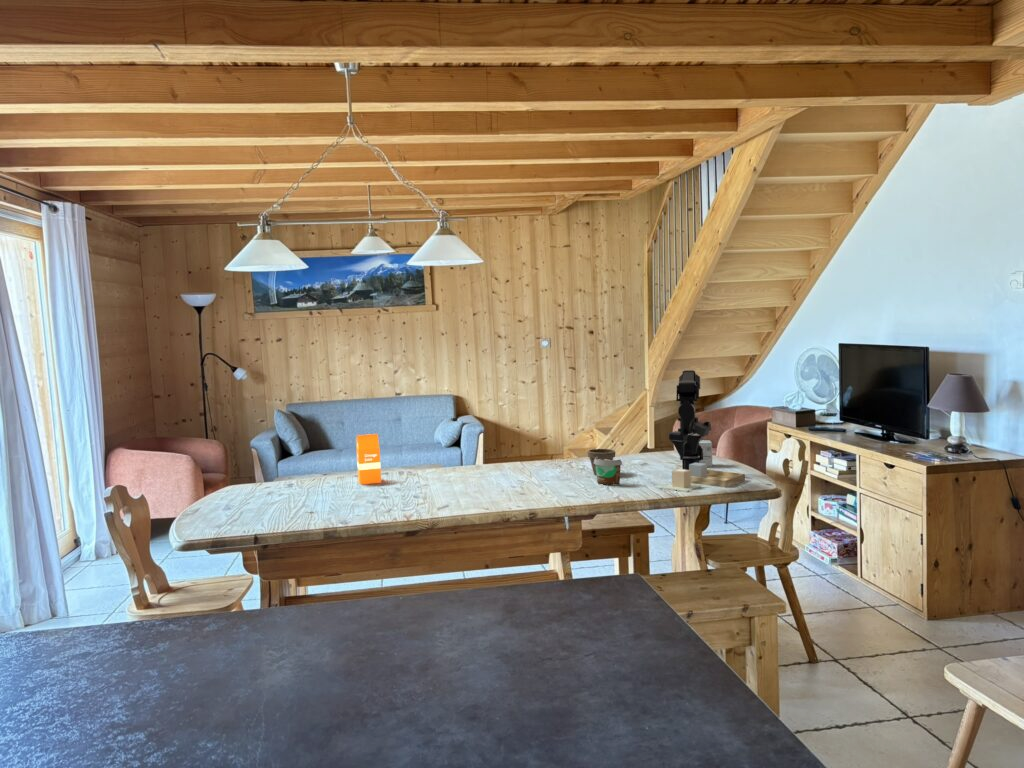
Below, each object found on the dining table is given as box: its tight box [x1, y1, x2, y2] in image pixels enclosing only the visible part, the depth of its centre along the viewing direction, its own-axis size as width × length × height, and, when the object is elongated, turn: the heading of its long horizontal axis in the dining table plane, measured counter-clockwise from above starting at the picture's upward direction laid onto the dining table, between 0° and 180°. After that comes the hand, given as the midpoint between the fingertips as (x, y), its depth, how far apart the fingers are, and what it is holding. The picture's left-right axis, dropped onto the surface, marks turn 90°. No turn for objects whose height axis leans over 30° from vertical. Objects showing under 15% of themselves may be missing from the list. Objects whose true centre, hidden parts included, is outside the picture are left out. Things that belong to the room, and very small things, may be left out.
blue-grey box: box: [689, 463, 708, 478], centre depth 299 cm, size 5×5×6 cm
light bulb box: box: [698, 439, 713, 468], centre depth 328 cm, size 11×7×11 cm, turn 84°
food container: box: [594, 457, 623, 486], centre depth 298 cm, size 12×6×10 cm, turn 47°
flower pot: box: [587, 448, 616, 476], centre depth 318 cm, size 12×11×10 cm
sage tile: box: [660, 482, 702, 493], centre depth 288 cm, size 11×11×1 cm
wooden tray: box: [691, 469, 746, 489], centre depth 296 cm, size 22×16×3 cm
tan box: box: [671, 468, 692, 488], centre depth 287 cm, size 5×5×6 cm
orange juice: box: [356, 433, 382, 485], centre depth 319 cm, size 8×9×20 cm
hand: (688, 455), depth 289 cm, fingers open, 9 cm apart
